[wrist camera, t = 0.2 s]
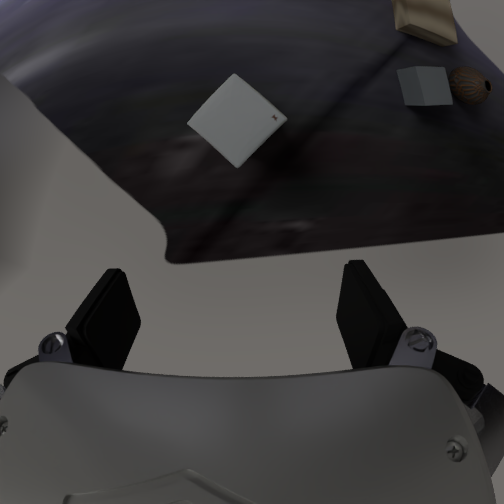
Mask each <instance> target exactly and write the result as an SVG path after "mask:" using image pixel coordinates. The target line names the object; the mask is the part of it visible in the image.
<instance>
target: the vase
mask: <svg viewBox="0 0 504 504" xmlns="http://www.w3.org/2000/svg"><path fill="white" fill-rule="evenodd" d="M449 85H450V88H451V91H452V92H453V94H454V95H455V96H456V97H457V98H458V99H459V100H461V101H462V102H465V103H467V104H480V103H482V102H484V101H485V100H486V98H487V97H488V95H489V94H490V93H491V92H492V84H491V82H490V81H489V80H488V79H487V78H485V77H484V76H483V75H482V74H481V73H480V72H479V71H477V70H476V69H473V68H471V67H466V66H464V67H458V68H456V69H454V70H453V71H452V72H451V74H450V76H449Z"/></svg>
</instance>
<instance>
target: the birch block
mask: <svg viewBox="0 0 504 504" xmlns="http://www.w3.org/2000/svg"><path fill="white" fill-rule="evenodd" d="M392 5H393V11H394V18H395V26H396V30H398V31H401V32H404V33H407V34H410V35H413V36H416V37H419V38H421V39H424V40H427V41H429V42H432V43H434V44H436V45H439V46H441V47H444V46H449V45H454V44H458V43H457V36H456V29H455V24H454V18H453V13H452V9H451V4H450V0H392Z"/></svg>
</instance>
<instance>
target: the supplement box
mask: <svg viewBox="0 0 504 504" xmlns="http://www.w3.org/2000/svg"><path fill="white" fill-rule="evenodd" d="M286 120H287V118H286V117H285V116H284V115H283V114H282V113H281V112H280V111H279V110H278V109H277V108H276V107H275V106H274V105H272V104H271V103H270V102H269V101H268V100H267V99H266V98H264V97H263V96H262V95H261V94H260V93H259V92H257V91H256V90H255V89H254V88H252V87H251V86H250V85H249V84H248V83H246V82H245V81H244V80H242V79H241V78H240V77H239V76H237V75H236V74H233V75H232V76H231V77H230V78H229V79H228V80H227V81H226V82H225V83H223V84H222V85H221V87H220V88H219V89H218V90H217V91H216V92H215V93H214V94H213V95H212V96H211V97H210V98H209V99H208V100H207V101H206V102H205V103H204V104H203V105H202V107H201V108H200V109H199V110H198V111H197V112H196V113H195V114H194V116H193V117H192V118H191V119H190V120H189V121H188V123H187V124H188V125H189V126H191V127H192V128H193V129H194V130H195V131H196V132H197V133H199V134H200V135H201V136H202V137H203V138H204V139H205V140H207V141H208V142H209V143H210V144H211V145H212V146H213V147H214V148H215V149H216V150H218V151H219V152H220V153H221V154H222V155H223V156H224V157H225V158H226V159H227V160H228V161H230V162H231V163H232V164H233V165H234V166H235V167H236V168H238V167H240V166H241V165H242V164H243V163H244V162H245V161H246V160H247V159H248V158H249V157H250V156H251V155H252V154H253V153H254V152H255V151H256V150H257V149H258V148H259V147H260V146H261V145H262V144H263V143H264V142H265V141H266V140H267V139H268V138H269V137H270V136H271V135H272V134H273V133H274V132H275V131H276V130H277V129H278V128H279V127H280V126H281V125H282V124H283V123H284V122H285V121H286Z"/></svg>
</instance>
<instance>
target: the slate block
mask: <svg viewBox="0 0 504 504" xmlns="http://www.w3.org/2000/svg"><path fill="white" fill-rule="evenodd" d="M396 71H397V74H398V78H399V82H400V86H401V90H402V94H403V98H404V102H405V105H419V106H428V105H452V104H453V102H452V97H451V92H450V87H449V83H448V79H447V75H446V71H445V67H426V66H415V67H410V68H405V69H401V70H396Z"/></svg>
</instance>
